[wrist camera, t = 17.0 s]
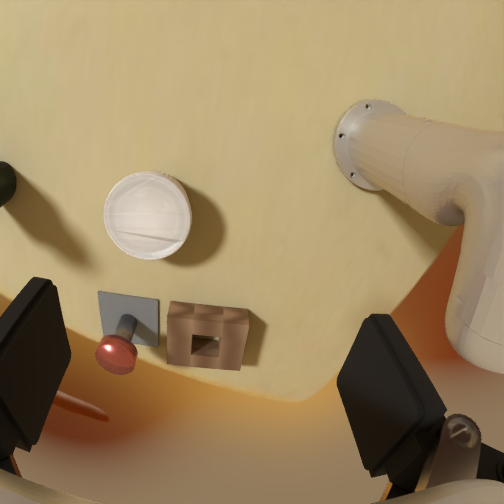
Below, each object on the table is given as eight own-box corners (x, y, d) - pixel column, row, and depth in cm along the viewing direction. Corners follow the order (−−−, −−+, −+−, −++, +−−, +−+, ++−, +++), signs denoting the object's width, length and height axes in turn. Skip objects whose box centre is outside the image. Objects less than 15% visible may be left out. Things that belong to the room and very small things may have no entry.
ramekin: (138, 254, 44) (128, 272, 39) (102, 185, 39) (87, 197, 34) (208, 226, 43) (206, 242, 38) (175, 150, 38) (167, 157, 33)
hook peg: (110, 304, 47) (92, 342, 39) (145, 309, 48) (132, 349, 40) (113, 331, 50) (98, 370, 42) (146, 337, 50) (136, 377, 42)
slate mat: (158, 299, 48) (157, 300, 47) (158, 345, 52) (158, 347, 52) (98, 290, 46) (97, 292, 46) (104, 337, 50) (104, 338, 50)
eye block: (247, 309, 50) (249, 325, 46) (238, 354, 54) (239, 370, 50) (170, 300, 48) (167, 316, 44) (169, 347, 52) (167, 363, 49)
